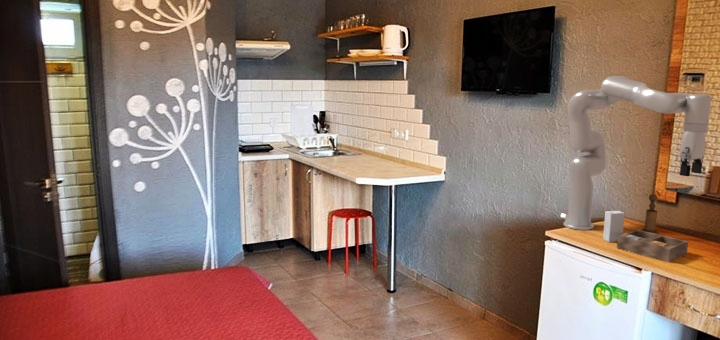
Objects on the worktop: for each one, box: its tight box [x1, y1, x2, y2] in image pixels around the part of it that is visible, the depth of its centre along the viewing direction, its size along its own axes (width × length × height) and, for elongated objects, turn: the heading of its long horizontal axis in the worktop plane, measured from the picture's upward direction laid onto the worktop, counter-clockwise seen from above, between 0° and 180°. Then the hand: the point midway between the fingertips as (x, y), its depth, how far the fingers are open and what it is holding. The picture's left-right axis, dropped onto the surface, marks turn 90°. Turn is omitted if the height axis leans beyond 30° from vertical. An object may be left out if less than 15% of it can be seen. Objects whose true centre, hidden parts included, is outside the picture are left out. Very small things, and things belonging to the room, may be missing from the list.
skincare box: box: [602, 210, 625, 243], centre depth 218 cm, size 6×4×12 cm
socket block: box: [616, 229, 689, 263], centre depth 205 cm, size 19×15×5 cm
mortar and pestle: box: [640, 193, 659, 234], centre depth 223 cm, size 7×6×18 cm
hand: (690, 174), depth 200 cm, fingers open, 9 cm apart
